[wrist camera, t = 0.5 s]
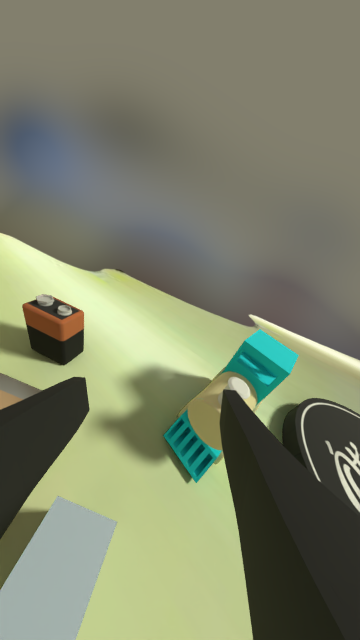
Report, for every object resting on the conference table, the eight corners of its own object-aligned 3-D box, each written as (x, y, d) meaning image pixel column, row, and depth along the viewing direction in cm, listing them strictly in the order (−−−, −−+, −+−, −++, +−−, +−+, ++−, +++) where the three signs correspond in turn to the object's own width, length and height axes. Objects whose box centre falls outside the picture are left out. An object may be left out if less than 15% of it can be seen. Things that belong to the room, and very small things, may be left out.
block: (68, 643, 12) (64, 670, 8) (3, 614, 12) (-24, 629, 9) (109, 531, 16) (117, 521, 13) (62, 510, 16) (57, 495, 13)
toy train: (158, 433, 24) (196, 366, 16) (217, 380, 36) (255, 326, 28) (197, 491, 20) (272, 441, 12) (249, 411, 32) (303, 358, 24)
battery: (54, 335, 32) (48, 288, 26) (84, 351, 31) (85, 306, 26) (29, 349, 28) (18, 298, 23) (64, 367, 27) (60, 318, 22)
